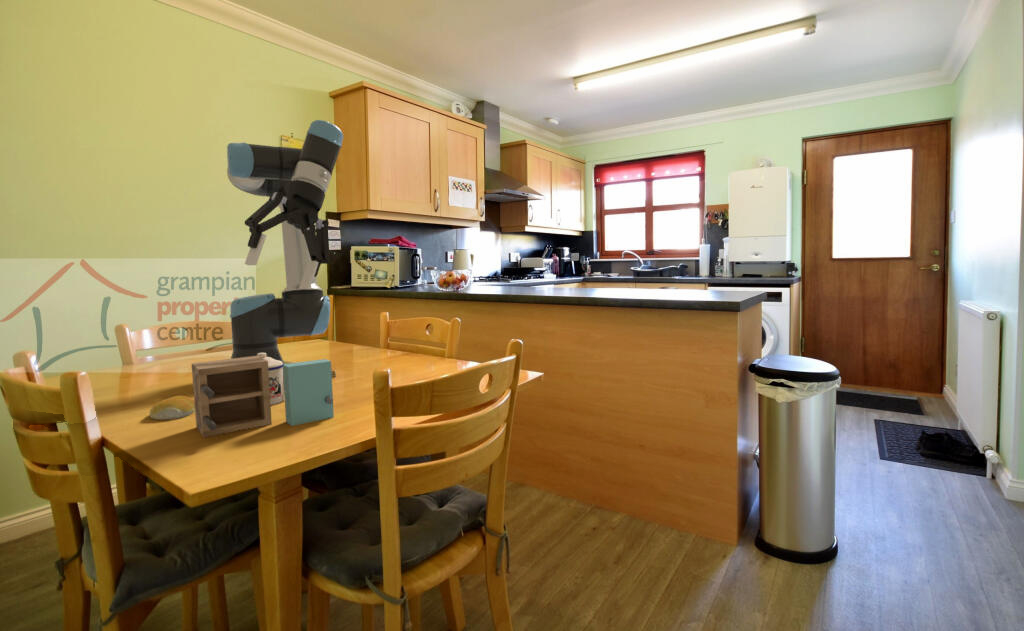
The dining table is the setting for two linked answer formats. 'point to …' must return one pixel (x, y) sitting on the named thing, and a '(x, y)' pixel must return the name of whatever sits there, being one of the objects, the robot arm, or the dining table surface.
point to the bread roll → (173, 408)
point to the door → (308, 391)
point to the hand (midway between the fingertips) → (278, 277)
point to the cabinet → (231, 395)
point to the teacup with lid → (275, 379)
